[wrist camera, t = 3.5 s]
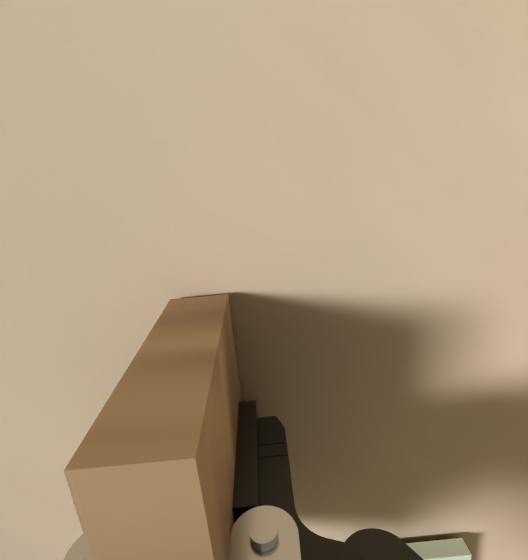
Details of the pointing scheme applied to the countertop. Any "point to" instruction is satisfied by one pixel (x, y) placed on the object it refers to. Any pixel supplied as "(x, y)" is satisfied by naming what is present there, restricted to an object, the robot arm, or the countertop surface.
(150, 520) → the brown wooden block
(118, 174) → the countertop surface
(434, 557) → the mat
